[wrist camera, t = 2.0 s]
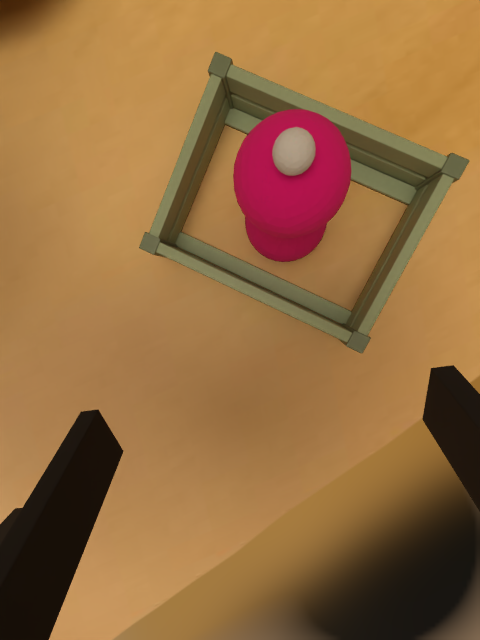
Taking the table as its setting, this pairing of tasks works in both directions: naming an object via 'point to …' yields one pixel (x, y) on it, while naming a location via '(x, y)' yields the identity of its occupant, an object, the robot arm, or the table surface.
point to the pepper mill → (291, 182)
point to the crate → (367, 169)
